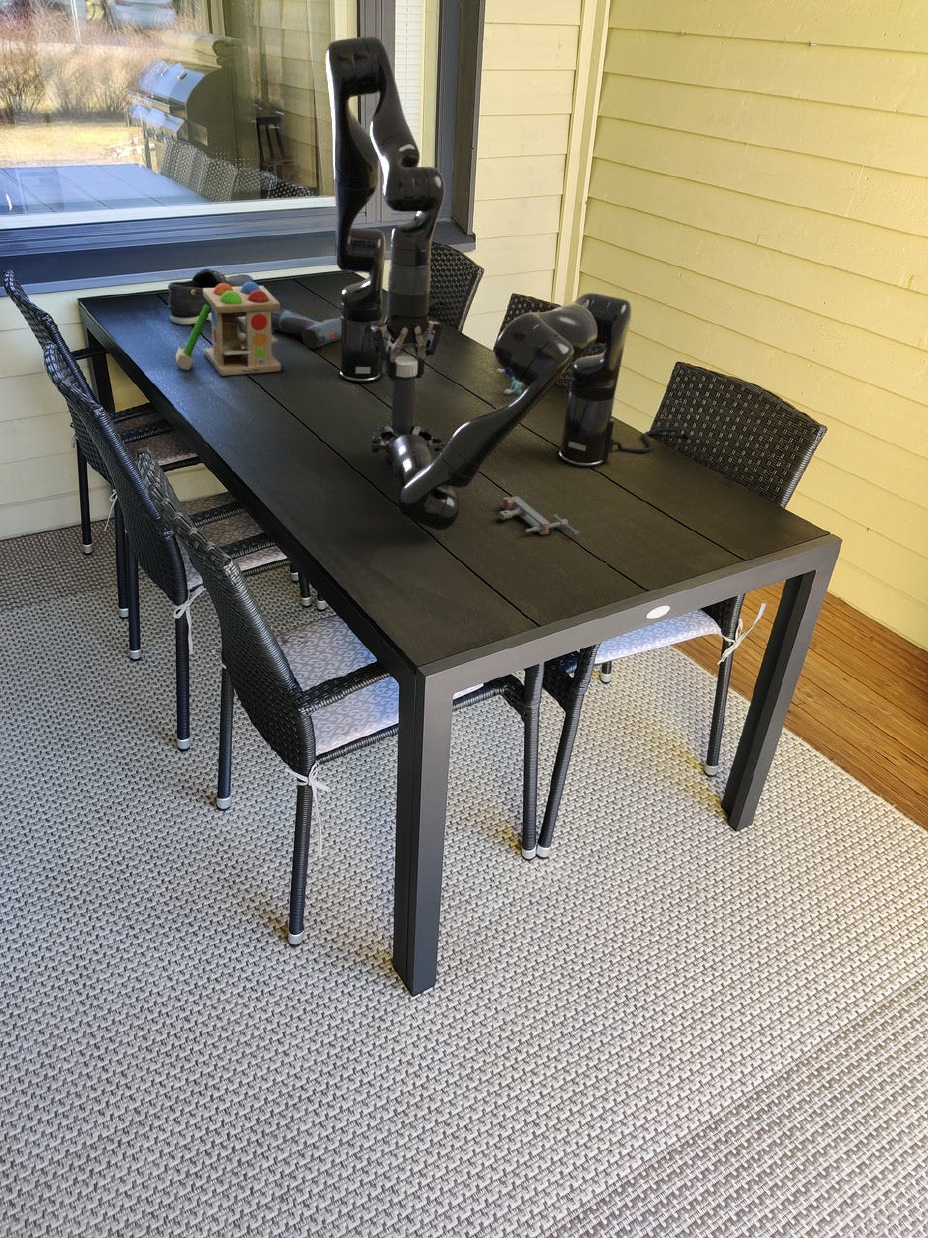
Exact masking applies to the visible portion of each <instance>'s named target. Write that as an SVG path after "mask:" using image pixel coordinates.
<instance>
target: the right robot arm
mask: <svg viewBox="0 0 928 1238" xmlns="http://www.w3.org/2000/svg"><path fill="white" fill-rule="evenodd" d="M631 319H632V305H631V303H630V301H629V300H628V299H625V298H621V297H615V296H611V295H605V294H600V293H594V292H587V293H583V294H581V295H580V296H579V297H577V298H576V299H575V300H573V302H571V303H569V304H564V305H561V306H559V307H556V308H553V309H552V310H548V311H545V312H543V311H542V312H536V311H535V312H526V313H524V314H521V315H518V316H517V317H516V318H514V319H512V321H510V323H508V324H507V325H506V326H505V327H504V328H503V330H502V331H501V332H500V334H499V336H498V337H497V339H496V342H495V346H494V356H495V358H496V360H497V362H498V363H499V364H500V365H501V367H503V369H506V370H507V371H509V372H510V373H511V374H512V375H513V377H514V378H516V379H517V381H519V382H522V383H523V384H524V385H525V386H524V387H525V388H524V389H523V390H522V392H521V393H520V394H519V395H516V397H515V398H514V399H512V400H511V401H509V402H508V403H505V404H503V405H502V406H500V407H499V406H498V408H494V409H493V410H489V411H487V412H484V413H481V414H479V415H476V416H474V417H471V418H469V419H468V420H466V421H465V422H463V423H462V424H461V425H460V426H459V427H458V428H457V429H456V430H454V432H453V433H452V435H451V436H450V438H449V439H448V440H447V442H446V444H445V445H444V446H443V448H442V442H443V439H442V437H441V436H439V435H438V434H437V433H436V432H434V431H433V430H432V429H431V428H430V427H424V428H423V429H422V427H420V426H419V423H418V422H417V421H416V422H415V420H414V419H413V427H412V434H406V435H403V434H400V433H399V432H398V431H397V430H393V429H392V425H391V420H389V419H386V420H385V421H384V422H383V423H382V427H377V428H376V429H375V431H374V434H373V436H372V438H371V452H372V453H378V452H379V451H381V450H383V451H384V450H385V452H386V454H388V455H389V459H390V458H391V461H392V463H391V464H392V469H393V472H394V473H395V475H396V478H397V479H398V481H399V483H400V487H401V489H400V491H399V493H398V496H397V507H398V508H397V509H398V511H399V512H400V514H402V515H403V516H404V517H406V518H408V519H410V520H412V521H415V522H417V523H419V524H421V525H424V526H425V527H428V528H429V529H432V530H435V531H446V530H448V529H450V528H451V527H452V526H453V525H454V524H455V523H456V521H457V520H458V517H459V513H460V502H459V498H458V495H457V494H456V492H455V490H454V489H453V488H458V489H459V488H460V489H462V488H466V487H467V486H469V485H470V483H472V481H473V480H474V478H475V477H476V476H477V474H478V473H479V471H480V470H481V469H482V468H483V466H484V465H485V464H486V462H487V461H488V459H489V458H490V457H491V456H492V454H493V453H494V451H496V449H497V448H498V447H499V446H500V445H501V443H502V442H503V441H505V439H506V438H507V437H508V436H509V434H510V433H512V431H514V429H515V428H517V427H518V425H519V424H520V423H522V421H523V420H524V419H525V418H526V417H527V416H528V415H529V414H530V413H531V412H532V410H533V409H534V408H535V407H536V406H537V405H538V404H539V402H540V401H541V400H542V399H543V398H544V397H545V396H546V395H547V394H548V393H549V392H550V390H552V388H553V387H554V386H555V384H556V383H557V382H558V381H559V380H560V378H561V377H562V375H564V373H565V372H566V370H567V369H568V367H569V365H570V364H571V362H573V364H572V368H571V373H570V375H571V376H570V380H569V387H568V394H567V402H566V408H565V415H564V422H563V428H562V436H561V441H560V445H559V452H558V456H559V458H560V459H561V460H562V461H563V462H565V463H567V464H569V465H572V466H577V467H581V468H582V467H583V468H584V467H586V468H593V467H597V466H600V465H602V464H607V463H608V458H609V453H613V448H614V446H617V449H618V450H619V451H622V452H627V453H632V454H633V453H634V454H645V453H649V452H651V451H652V450H653V449H654V444H653V442H652V441H651V439H650V438H649V437H648V436H650V435H654V434H659V433H676V434H678V433H677V429H678V428H675V427H662V428H661V427H660V428H655V429H651V430H647V431H645V432H644V433H643V434H642V438H643V440H644V442H645V443H646V444H647V445H648V447H646V448H645V447H644V448H630V447H626V446H624V445H623V444H622V442H620V441H618V440H615V439H614V438H613V436H612V435H613V431H614V424H615V420H614V418H613V417H612V416H613V415H612V414H613V409H614V403H615V398H616V392H617V385H618V380H619V376H620V375H619V374H620V371H621V366H622V361H623V357H624V356H623V355H624V350H625V345H626V341H627V337H628V334H629V328H630V325H631ZM594 345H595V346H599V347H604V348H605V349H604V352H602V353H599V354H595V355H588V356H585V355H586V354H587V353H588V352H590V350H591V349H592V348H593V347H594ZM687 434H688V433H687ZM687 434H680V435H682V436H683V437H684V438H685V439H688V440H690V439H691V440H692V438H691V436H690V435H689V434H688V435H689V436H688V435H687ZM384 440H385V441H386V442H384ZM431 450H434V451H435V452H436V453H439V454H438V455H437V456H436V457H435V458H434V456H433V453H432V451H431Z"/></svg>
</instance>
